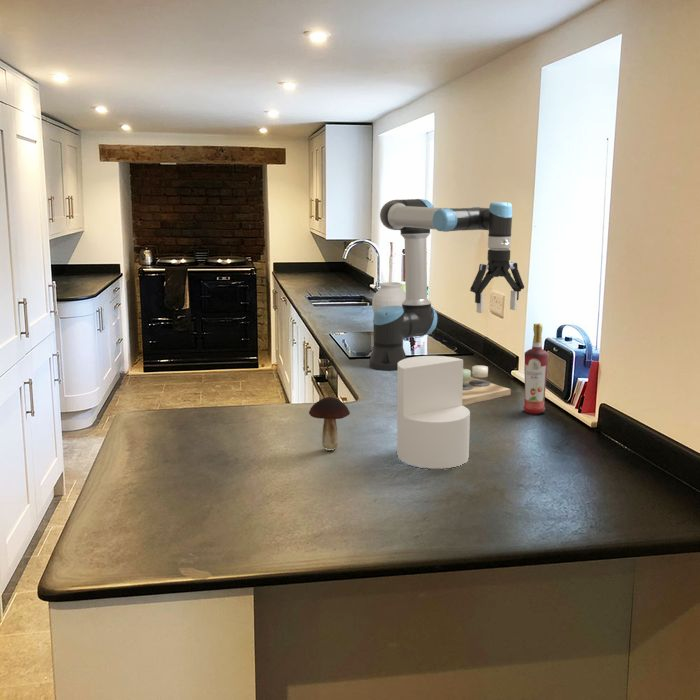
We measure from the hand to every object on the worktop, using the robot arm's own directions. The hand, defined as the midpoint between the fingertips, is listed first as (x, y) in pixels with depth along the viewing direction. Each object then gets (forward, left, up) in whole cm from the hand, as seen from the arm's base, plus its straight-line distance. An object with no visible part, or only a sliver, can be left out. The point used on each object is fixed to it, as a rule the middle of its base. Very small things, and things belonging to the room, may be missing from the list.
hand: (496, 311), depth 247 cm
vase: (-96, +25, -28) cm, 103 cm away
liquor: (+28, -10, -28) cm, 40 cm away
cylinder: (+39, -60, -28) cm, 77 cm away
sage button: (-1, -14, -22) cm, 26 cm away
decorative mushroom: (+20, -80, -28) cm, 87 cm away
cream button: (-1, -6, -22) cm, 23 cm away
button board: (-1, -14, -27) cm, 30 cm away
